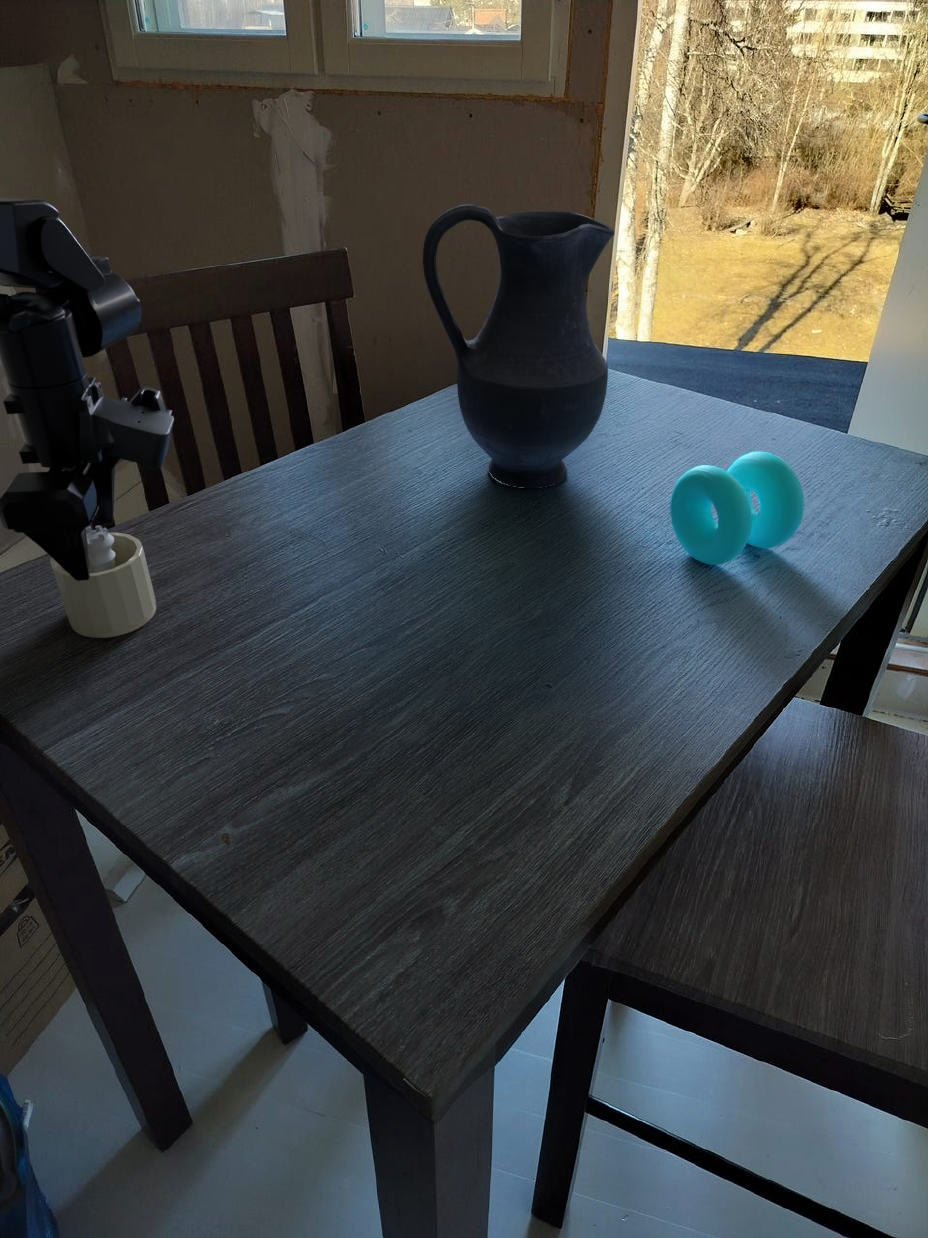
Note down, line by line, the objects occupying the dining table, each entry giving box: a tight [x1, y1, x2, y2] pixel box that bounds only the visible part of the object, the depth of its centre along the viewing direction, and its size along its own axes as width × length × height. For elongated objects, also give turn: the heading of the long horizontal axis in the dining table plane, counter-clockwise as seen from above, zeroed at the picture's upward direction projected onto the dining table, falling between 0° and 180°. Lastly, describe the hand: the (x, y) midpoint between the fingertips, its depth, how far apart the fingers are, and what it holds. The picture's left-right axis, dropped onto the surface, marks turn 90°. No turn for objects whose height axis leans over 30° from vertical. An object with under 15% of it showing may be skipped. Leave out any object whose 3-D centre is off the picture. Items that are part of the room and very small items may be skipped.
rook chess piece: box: [86, 525, 117, 573], centre depth 76 cm, size 4×4×8 cm
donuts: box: [669, 451, 805, 566], centre depth 86 cm, size 10×10×10 cm
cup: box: [49, 531, 157, 639], centre depth 77 cm, size 8×8×6 cm
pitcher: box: [422, 204, 615, 489], centre depth 95 cm, size 17×21×30 cm
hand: (95, 550), depth 75 cm, fingers open, 9 cm apart
